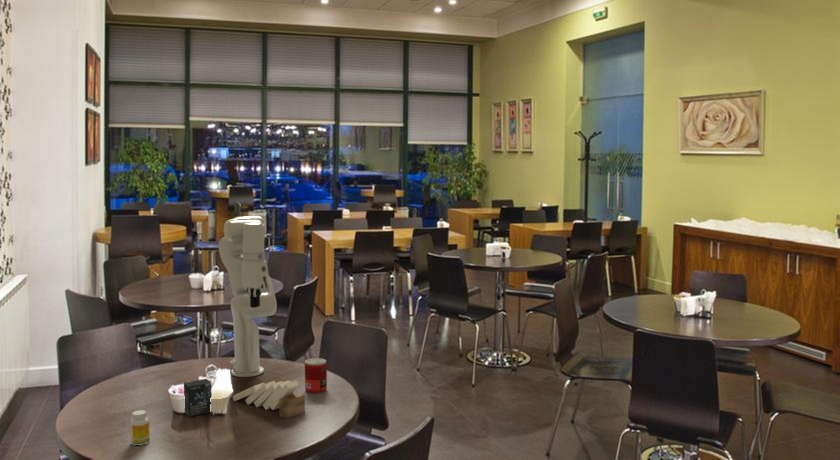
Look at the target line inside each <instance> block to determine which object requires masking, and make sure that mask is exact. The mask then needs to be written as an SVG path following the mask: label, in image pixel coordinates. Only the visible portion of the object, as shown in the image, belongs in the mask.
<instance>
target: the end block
mask: <svg viewBox="0 0 840 460" xmlns="http://www.w3.org/2000/svg"><path fill="white" fill-rule="evenodd" d="M305 398H306V396H305V394H304V393H302V392H301V393H300V392H296V391H294V392H293V394H290V395H288V396H285V397H282V398H280V399H279V408H278V411H279V417H282V418H285V419H291V418H293V417H295V416H297V415H298V416H299V415H300V414H302V413H305V412H306V409H305V407H306V405H305V403H306V401H305Z"/></svg>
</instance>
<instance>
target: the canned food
mask: <svg viewBox="0 0 840 460" xmlns="http://www.w3.org/2000/svg"><path fill="white" fill-rule="evenodd" d="M327 367H328V365H327V359H324V358H321V357H313V358H312V357H311V358H307V359H305V360H304V388H305V391H306V392H308V393H311V394H319V393H320V394H321V393H323V392H326V390H327V387H328V384H327V383H328V379H327V378H328V375H327V374H328V373H327Z"/></svg>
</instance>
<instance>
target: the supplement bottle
mask: <svg viewBox="0 0 840 460" xmlns="http://www.w3.org/2000/svg"><path fill="white" fill-rule="evenodd" d="M131 413H132V415H131V416H132V419H131V420H130V422H129V424H130V425H129V426H130V430H129V431H130V444H131V445H132V444H133V445H132V446H134V445H142V446H144V445H143V444H145V445H147V444H149V443H150V441H151V440H150V439H151V438H150V420H149V418H148V417H147V410H144V409H141V410H140V409H139V410H134V411H133V412H131ZM148 442H149V443H148Z"/></svg>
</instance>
